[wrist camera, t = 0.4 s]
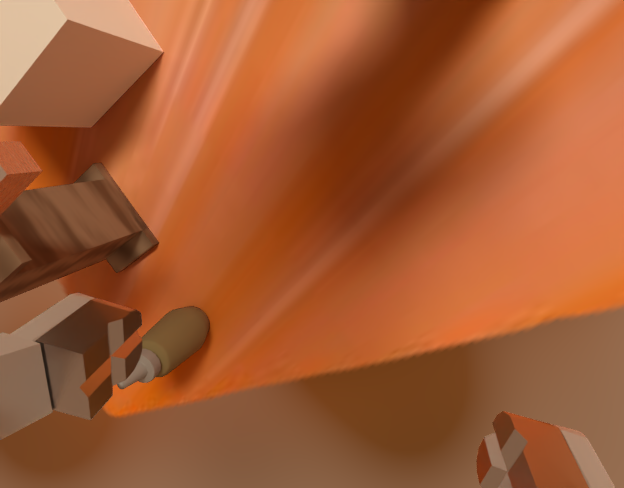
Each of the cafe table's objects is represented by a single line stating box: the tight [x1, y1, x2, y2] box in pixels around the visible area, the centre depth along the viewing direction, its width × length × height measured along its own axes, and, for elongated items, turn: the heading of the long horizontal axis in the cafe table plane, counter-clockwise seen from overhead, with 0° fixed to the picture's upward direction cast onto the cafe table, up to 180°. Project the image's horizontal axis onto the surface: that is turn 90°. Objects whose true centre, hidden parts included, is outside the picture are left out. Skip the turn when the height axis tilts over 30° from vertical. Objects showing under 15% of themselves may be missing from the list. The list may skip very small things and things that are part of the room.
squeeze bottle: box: [117, 306, 210, 389], centre depth 56 cm, size 8×8×18 cm
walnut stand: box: [0, 163, 159, 302], centre depth 49 cm, size 18×16×28 cm
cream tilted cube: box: [0, 0, 163, 128], centre depth 48 cm, size 18×14×16 cm
